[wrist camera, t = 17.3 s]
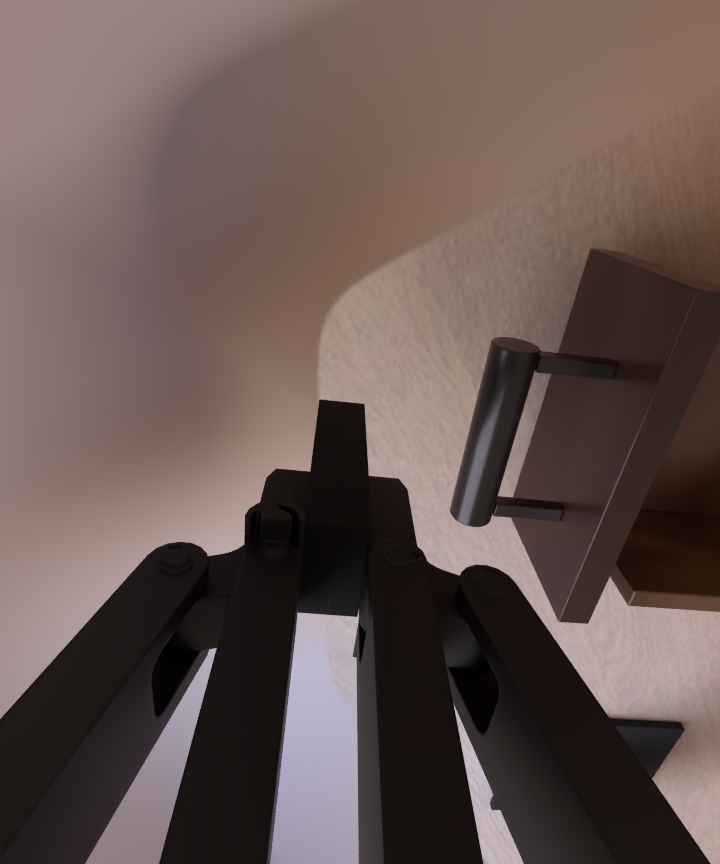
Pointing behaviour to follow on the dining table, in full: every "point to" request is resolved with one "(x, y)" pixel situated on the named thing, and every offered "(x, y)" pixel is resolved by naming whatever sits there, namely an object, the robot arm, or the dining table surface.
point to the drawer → (611, 443)
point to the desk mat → (643, 743)
